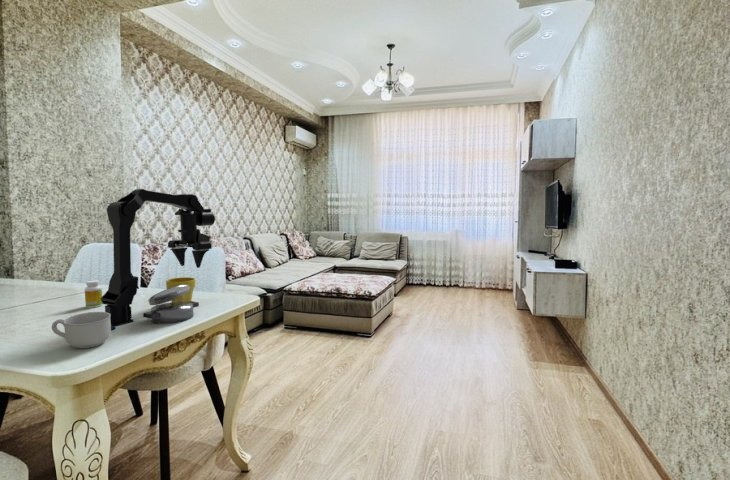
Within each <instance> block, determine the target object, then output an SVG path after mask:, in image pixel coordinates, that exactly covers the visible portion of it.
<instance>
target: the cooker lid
mask: <svg viewBox="0 0 730 480" xmlns="http://www.w3.org/2000/svg"><path fill="white" fill-rule="evenodd" d="M189 291H190V287H189V285H180V286H176V287H172V288H169V289H167V288H166V289H164V290H161V291H160V292H157V293H155V294H154V295H151V296H150V297H149V299H148V300H147V301H148V304H149V305H150V306H156V305H159V304H164V303H170V302H171V300H174V299H176V298H179V297H181V296H183V295H184V294H186V293H187V292H189Z"/></svg>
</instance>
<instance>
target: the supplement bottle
mask: <svg viewBox="0 0 730 480" xmlns="http://www.w3.org/2000/svg"><path fill="white" fill-rule="evenodd" d="M85 282H86V283H85V284H86V287H85V288H84V299H85V307H86V308H90V309H93V308H98V307H102V306H103V305H104V304H103V303H102V301H101V298H102V296H103V289H102V288H103V287H102V286H100V281H99V280H98V279H97V280H95V279H94V280H88V281H85Z"/></svg>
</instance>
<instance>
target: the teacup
mask: <svg viewBox="0 0 730 480" xmlns="http://www.w3.org/2000/svg"><path fill="white" fill-rule="evenodd" d="M110 317H111V314H110V313H107V312H105V311H91V312H83V313H79V314H74V315H70V316H69V317H67V318H65V319H63V318H62V319H61V318H60V319H56V320H55V321H54V322H53V323H52V325H51V330H52V332H53V333H54V335H57V336H59V337H62V338H63V339H64V340H66V343H68V345H70V346H71V347H74V348H76V349H82V350H83V349H90V347H91V348H95V347H97V346H100V345H102V344H103V343H104V342H105V341H107V340H108V338H109V337H110V335H111V333H112V332H111V331H112V326H111V320H110ZM58 324H60V325H62V326H63V329H64V332H63V331H61V330H60V329H58Z"/></svg>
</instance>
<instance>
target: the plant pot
mask: <svg viewBox="0 0 730 480" xmlns="http://www.w3.org/2000/svg"><path fill="white" fill-rule="evenodd" d="M165 283H166V284H165V286H166V289H169V288H172V287H176V286H180V285H189V287H190V291H189V292H187V293H186V294H184V295H183V296H181V297H179V298H176V299H174V300H171V301H170V302H188V301H192V299H193V293H194V289H195V288H196V278H195V277H191V276H190V277H188V276H187V277H185V276H184V277H183V276H181V277H180V276H179V277H173V278H168V279H166V281H165Z"/></svg>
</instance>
